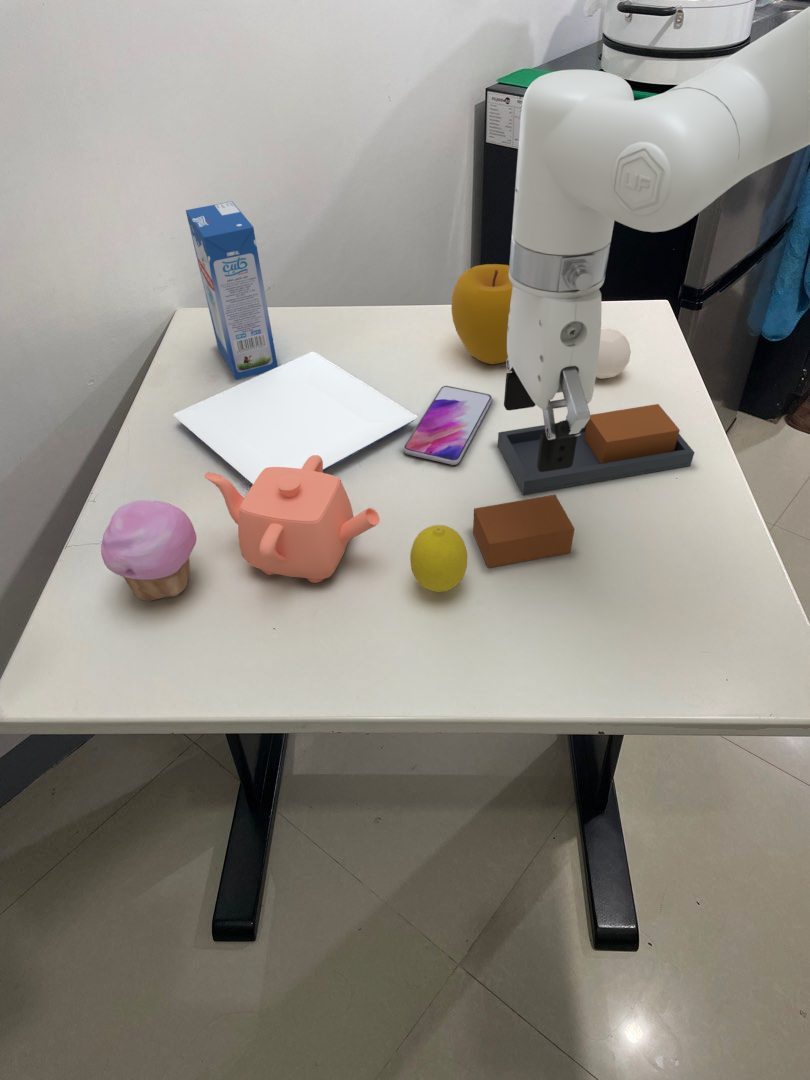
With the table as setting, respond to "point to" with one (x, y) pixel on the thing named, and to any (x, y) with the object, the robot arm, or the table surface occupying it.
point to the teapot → (294, 520)
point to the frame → (578, 462)
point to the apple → (483, 311)
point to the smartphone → (448, 425)
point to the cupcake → (150, 548)
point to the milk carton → (233, 287)
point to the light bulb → (612, 353)
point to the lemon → (438, 558)
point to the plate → (294, 417)
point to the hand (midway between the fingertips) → (536, 436)
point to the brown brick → (522, 530)
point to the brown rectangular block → (631, 433)
